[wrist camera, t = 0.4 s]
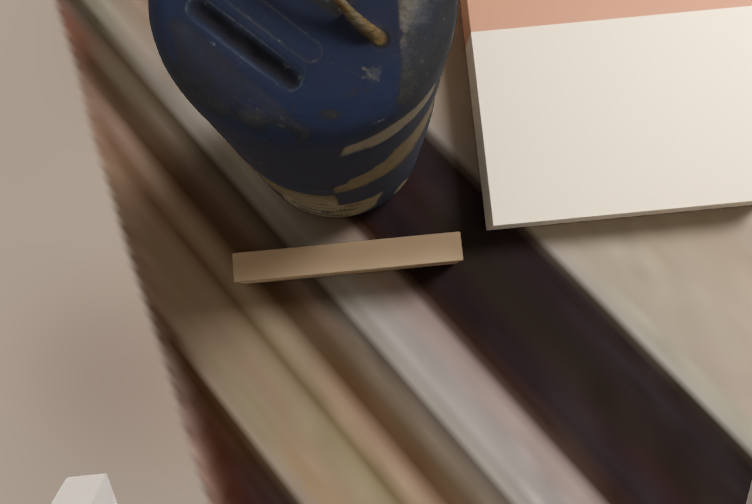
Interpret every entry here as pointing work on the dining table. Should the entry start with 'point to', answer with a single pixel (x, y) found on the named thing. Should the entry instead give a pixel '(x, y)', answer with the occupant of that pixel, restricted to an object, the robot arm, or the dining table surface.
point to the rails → (347, 258)
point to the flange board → (609, 107)
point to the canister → (313, 88)
